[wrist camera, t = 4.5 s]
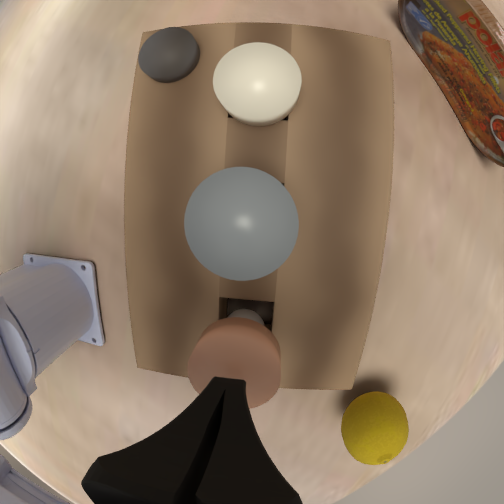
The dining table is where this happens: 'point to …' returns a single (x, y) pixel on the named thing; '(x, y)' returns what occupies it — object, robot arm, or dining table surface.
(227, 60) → the knob cream
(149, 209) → the board
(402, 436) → the lemon
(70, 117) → the dining table surface
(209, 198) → the knob slate
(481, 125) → the tin
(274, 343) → the peach pink ball
